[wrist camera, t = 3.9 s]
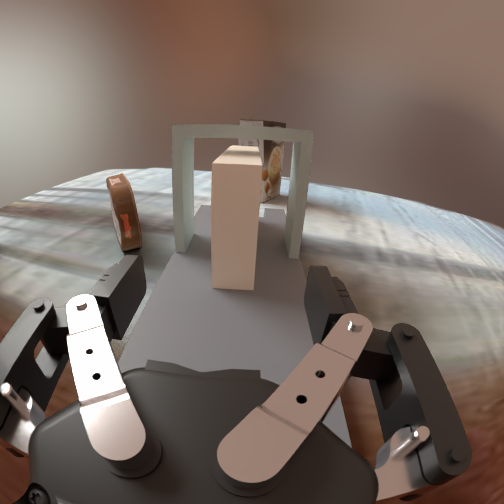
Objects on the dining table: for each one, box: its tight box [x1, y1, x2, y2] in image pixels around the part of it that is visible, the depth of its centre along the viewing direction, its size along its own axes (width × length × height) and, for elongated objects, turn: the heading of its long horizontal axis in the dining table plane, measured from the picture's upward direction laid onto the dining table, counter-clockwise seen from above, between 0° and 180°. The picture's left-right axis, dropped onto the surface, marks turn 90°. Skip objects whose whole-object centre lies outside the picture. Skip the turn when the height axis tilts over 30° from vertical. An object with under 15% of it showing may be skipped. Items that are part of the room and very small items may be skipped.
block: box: [211, 146, 262, 290], centre depth 27 cm, size 3×17×10 cm, turn 0°
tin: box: [106, 173, 142, 251], centre depth 33 cm, size 15×3×8 cm, turn 32°
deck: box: [118, 205, 352, 448], centre depth 25 cm, size 13×39×2 cm, turn 0°
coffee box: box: [238, 119, 286, 203], centre depth 53 cm, size 9×6×16 cm
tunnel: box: [172, 125, 314, 259], centre depth 27 cm, size 13×5×13 cm, turn 90°
